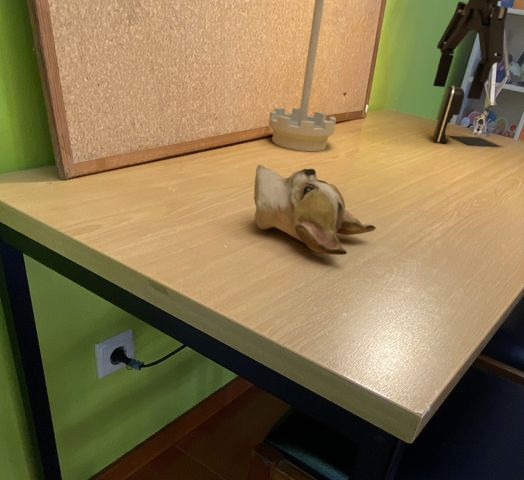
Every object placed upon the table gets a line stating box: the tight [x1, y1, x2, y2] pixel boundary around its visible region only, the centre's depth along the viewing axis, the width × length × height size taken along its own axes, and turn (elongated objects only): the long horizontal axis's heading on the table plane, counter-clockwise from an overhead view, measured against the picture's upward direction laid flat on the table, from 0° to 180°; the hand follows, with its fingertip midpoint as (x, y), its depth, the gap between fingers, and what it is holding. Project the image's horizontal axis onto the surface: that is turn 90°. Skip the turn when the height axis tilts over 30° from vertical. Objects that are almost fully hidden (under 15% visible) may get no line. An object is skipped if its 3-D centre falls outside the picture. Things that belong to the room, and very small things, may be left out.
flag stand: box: [268, 0, 337, 152], centre depth 93 cm, size 13×13×30 cm
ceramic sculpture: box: [253, 164, 377, 256], centre depth 60 cm, size 11×9×15 cm
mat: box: [449, 135, 500, 148], centre depth 123 cm, size 8×9×1 cm
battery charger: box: [433, 85, 466, 144], centre depth 116 cm, size 7×4×11 cm, turn 166°
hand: (455, 92), depth 113 cm, fingers open, 13 cm apart
